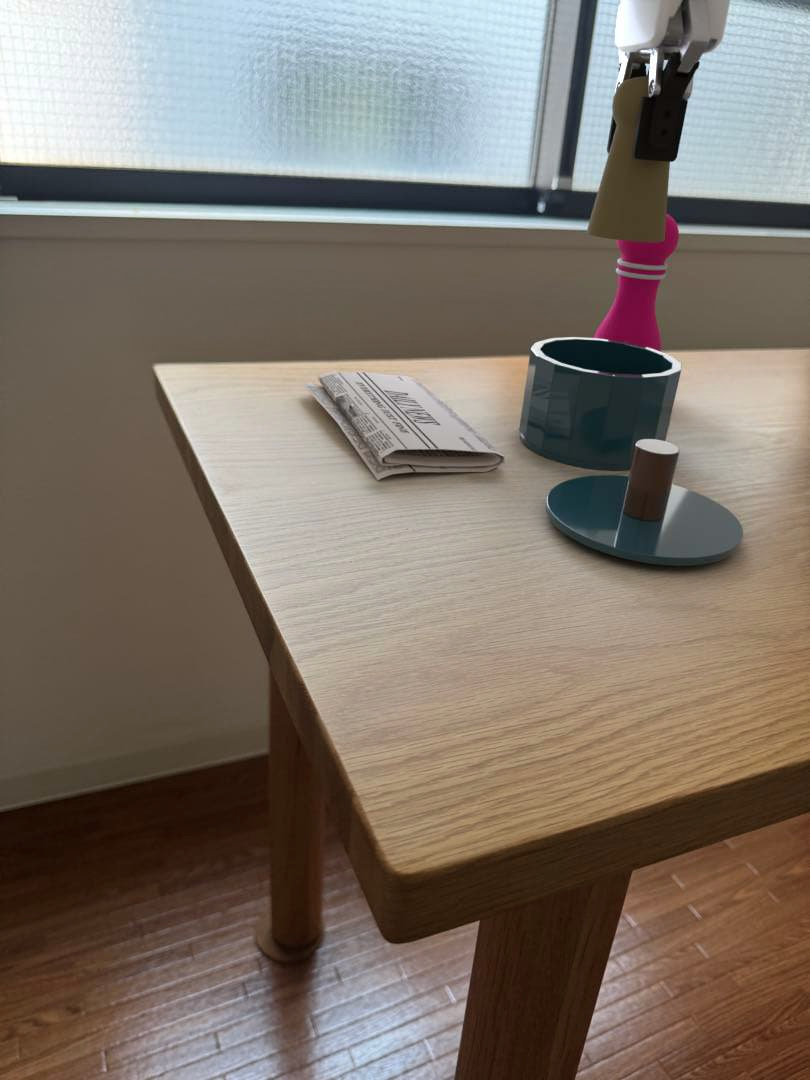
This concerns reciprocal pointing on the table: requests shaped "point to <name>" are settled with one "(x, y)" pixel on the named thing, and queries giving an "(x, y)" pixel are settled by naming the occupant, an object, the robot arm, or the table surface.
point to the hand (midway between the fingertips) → (640, 155)
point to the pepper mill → (639, 290)
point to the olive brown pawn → (630, 178)
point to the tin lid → (645, 513)
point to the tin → (596, 400)
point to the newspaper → (401, 425)
